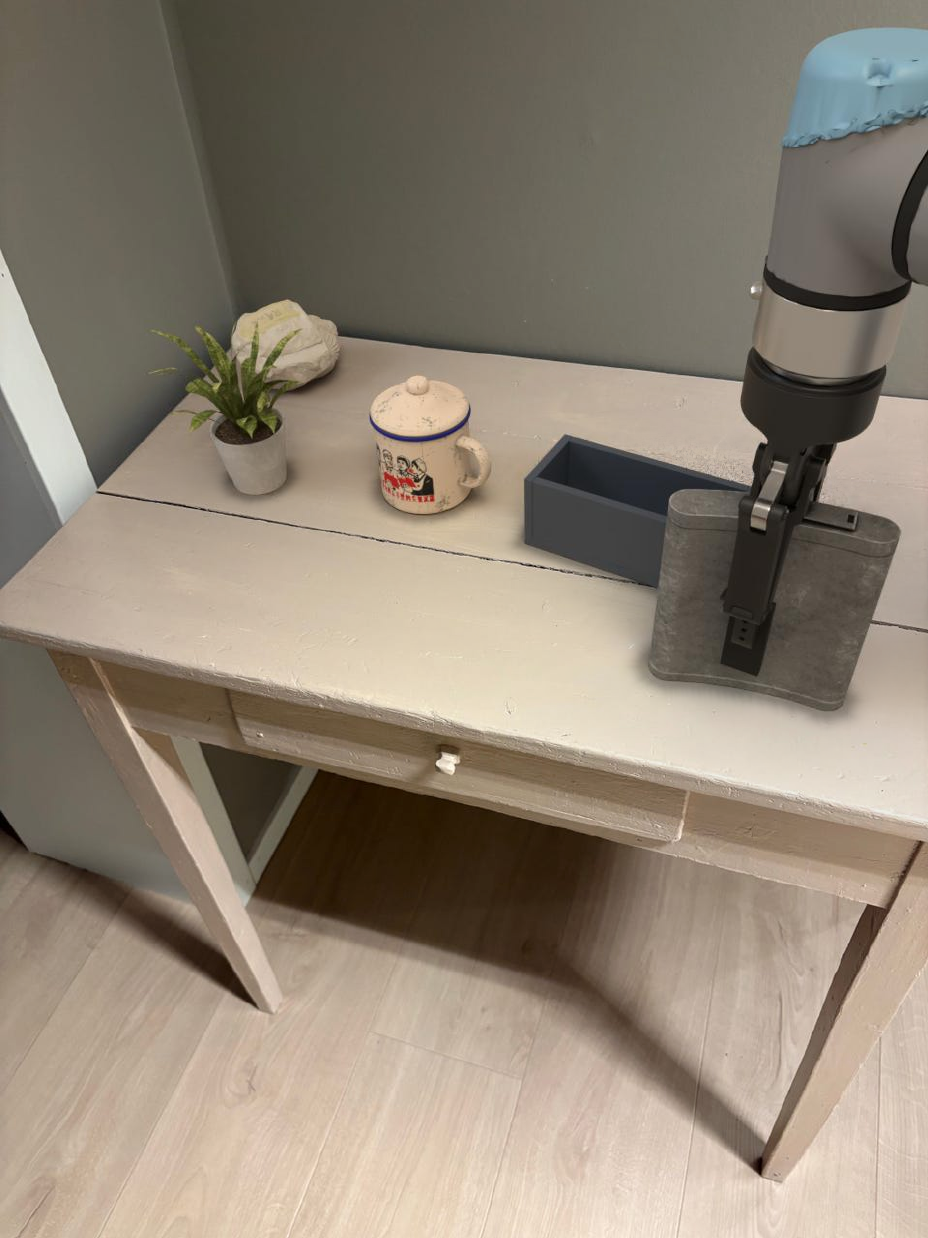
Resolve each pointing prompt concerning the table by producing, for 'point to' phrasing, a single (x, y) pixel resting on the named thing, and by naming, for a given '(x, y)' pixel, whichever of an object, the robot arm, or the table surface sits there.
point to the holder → (607, 506)
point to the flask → (806, 599)
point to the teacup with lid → (425, 446)
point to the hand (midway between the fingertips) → (751, 644)
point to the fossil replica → (301, 354)
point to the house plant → (242, 414)
